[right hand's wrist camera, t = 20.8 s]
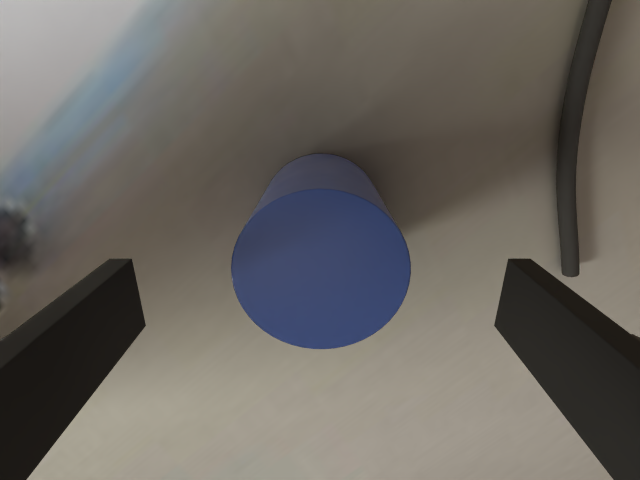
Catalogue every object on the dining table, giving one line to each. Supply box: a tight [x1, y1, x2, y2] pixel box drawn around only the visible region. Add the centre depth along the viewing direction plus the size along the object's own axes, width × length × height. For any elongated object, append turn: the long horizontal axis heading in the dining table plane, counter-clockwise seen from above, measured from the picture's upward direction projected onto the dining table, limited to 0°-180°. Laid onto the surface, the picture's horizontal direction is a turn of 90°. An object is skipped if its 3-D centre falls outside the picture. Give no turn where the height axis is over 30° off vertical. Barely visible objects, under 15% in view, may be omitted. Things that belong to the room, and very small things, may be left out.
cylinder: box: [231, 154, 411, 349], centre depth 17 cm, size 7×7×8 cm
